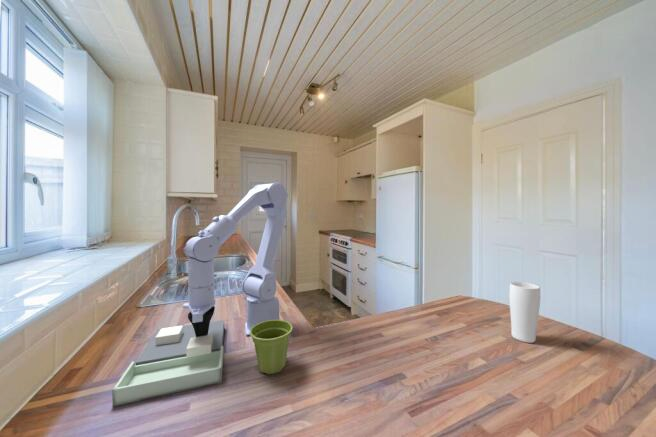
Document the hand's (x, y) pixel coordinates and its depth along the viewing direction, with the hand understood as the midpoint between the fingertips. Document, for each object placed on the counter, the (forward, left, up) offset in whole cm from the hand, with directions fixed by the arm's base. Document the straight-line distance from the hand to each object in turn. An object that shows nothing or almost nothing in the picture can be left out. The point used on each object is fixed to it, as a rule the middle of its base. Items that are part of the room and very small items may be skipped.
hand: (202, 338), depth 62 cm
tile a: (0, +3, -1) cm, 4 cm away
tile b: (+8, -5, -1) cm, 9 cm away
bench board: (+4, -4, -3) cm, 6 cm away
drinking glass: (-83, +24, -3) cm, 86 cm away
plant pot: (-16, +12, -4) cm, 20 cm away
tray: (+4, +9, -3) cm, 10 cm away
